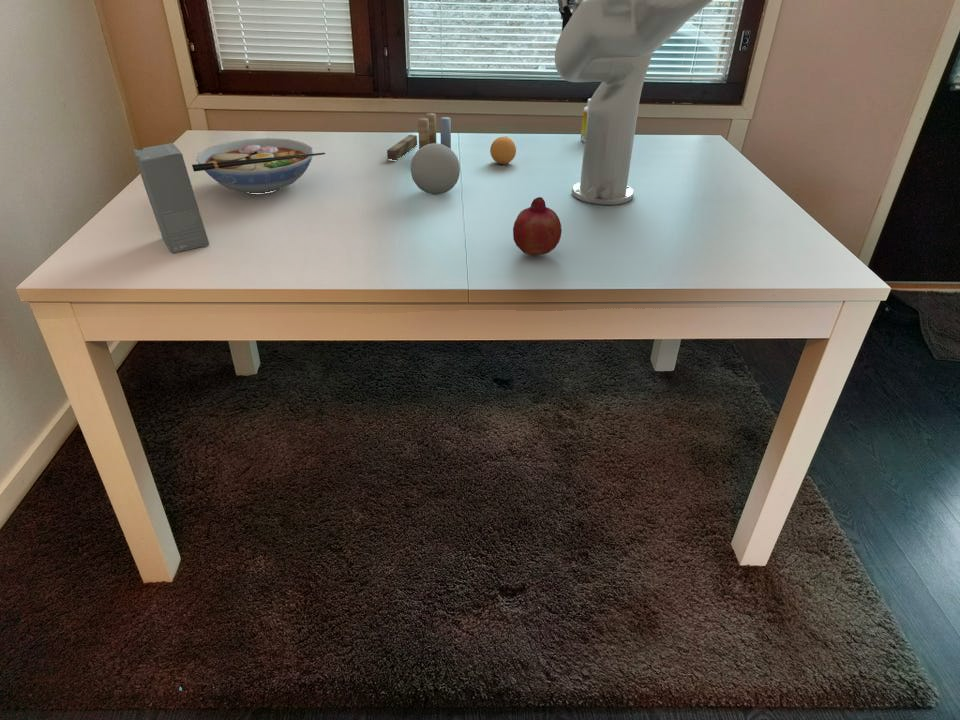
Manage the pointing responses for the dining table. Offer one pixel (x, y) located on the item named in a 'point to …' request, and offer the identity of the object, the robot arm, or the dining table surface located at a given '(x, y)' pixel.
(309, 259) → the dining table surface
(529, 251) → the fruit
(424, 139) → the pin
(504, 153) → the orange ball
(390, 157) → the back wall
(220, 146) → the ramen bowl
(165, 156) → the skincare box
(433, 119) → the pin
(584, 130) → the supplement bottle
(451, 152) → the ball
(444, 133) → the front pin
